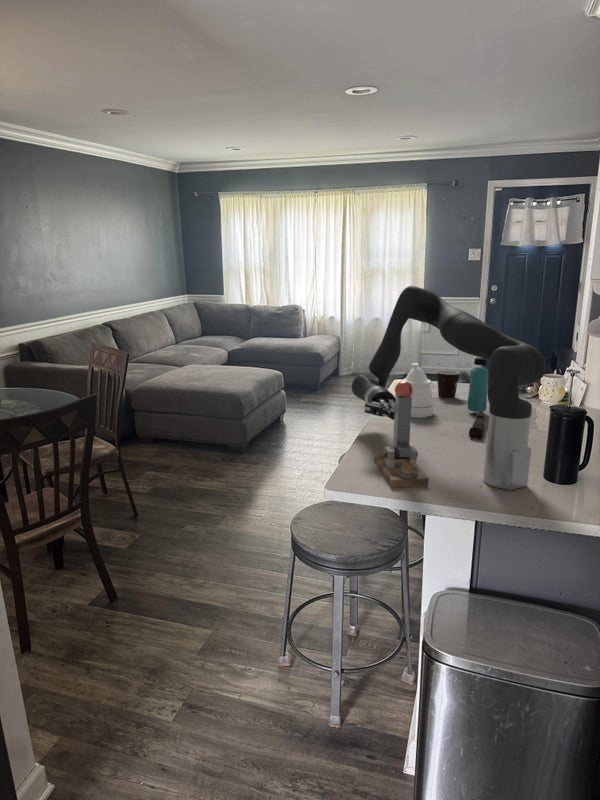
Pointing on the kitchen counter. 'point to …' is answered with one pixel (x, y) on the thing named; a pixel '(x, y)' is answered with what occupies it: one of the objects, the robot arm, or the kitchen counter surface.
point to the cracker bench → (398, 480)
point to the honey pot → (420, 392)
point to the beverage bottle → (478, 387)
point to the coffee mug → (447, 383)
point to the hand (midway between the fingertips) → (394, 415)
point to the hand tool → (477, 426)
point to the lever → (402, 420)
